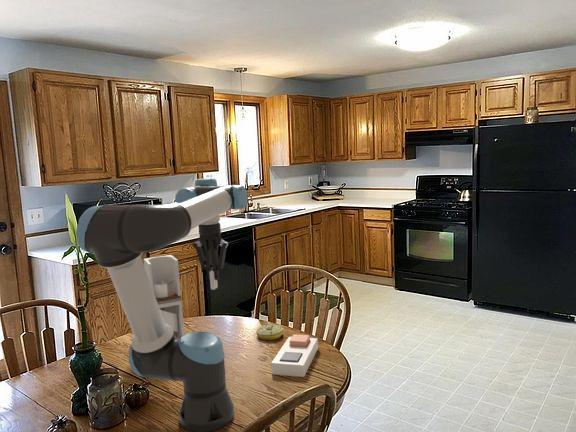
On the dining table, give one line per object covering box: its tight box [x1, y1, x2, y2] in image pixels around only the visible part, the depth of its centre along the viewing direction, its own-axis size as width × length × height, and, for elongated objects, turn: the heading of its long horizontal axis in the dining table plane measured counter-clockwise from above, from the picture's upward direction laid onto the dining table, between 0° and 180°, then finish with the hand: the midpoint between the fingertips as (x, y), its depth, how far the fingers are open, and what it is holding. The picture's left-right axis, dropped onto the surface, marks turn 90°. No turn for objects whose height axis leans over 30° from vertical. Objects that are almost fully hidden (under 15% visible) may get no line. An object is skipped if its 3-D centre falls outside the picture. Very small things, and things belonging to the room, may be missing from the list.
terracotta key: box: [290, 333, 311, 347], centre depth 166 cm, size 6×6×3 cm
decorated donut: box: [255, 323, 284, 341], centre depth 184 cm, size 10×11×4 cm
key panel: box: [270, 336, 319, 378], centre depth 160 cm, size 22×11×4 cm, turn 164°
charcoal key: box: [280, 352, 302, 362], centre depth 154 cm, size 6×6×3 cm
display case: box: [143, 254, 185, 338], centre depth 176 cm, size 11×11×35 cm
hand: (214, 288), depth 162 cm, fingers closed
